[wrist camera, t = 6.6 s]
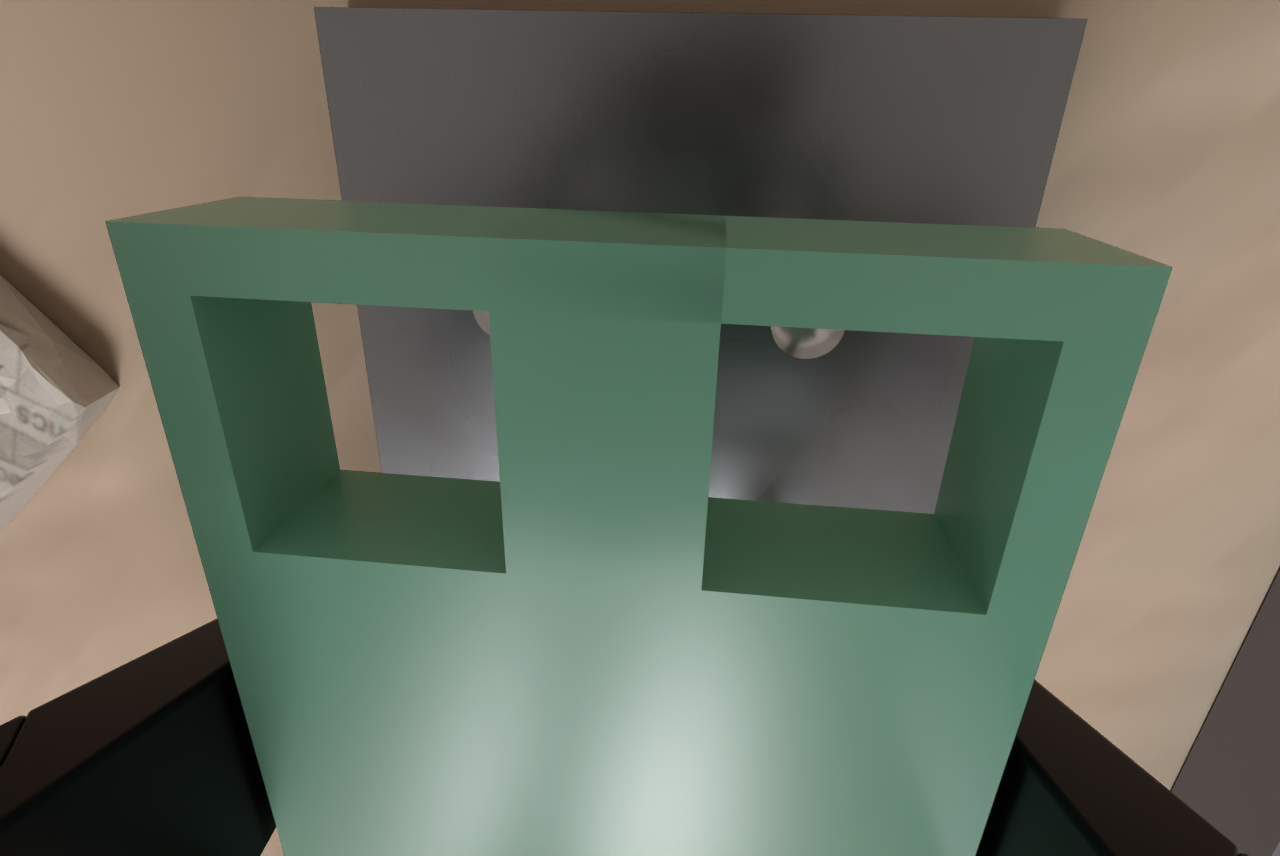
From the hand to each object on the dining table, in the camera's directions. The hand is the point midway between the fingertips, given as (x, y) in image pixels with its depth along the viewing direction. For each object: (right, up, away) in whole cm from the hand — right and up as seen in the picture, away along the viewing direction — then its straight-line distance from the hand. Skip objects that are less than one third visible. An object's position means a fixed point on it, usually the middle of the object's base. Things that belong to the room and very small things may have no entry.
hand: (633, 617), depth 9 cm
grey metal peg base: (+1, +2, +5) cm, 6 cm away
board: (0, 0, -1) cm, 1 cm away
